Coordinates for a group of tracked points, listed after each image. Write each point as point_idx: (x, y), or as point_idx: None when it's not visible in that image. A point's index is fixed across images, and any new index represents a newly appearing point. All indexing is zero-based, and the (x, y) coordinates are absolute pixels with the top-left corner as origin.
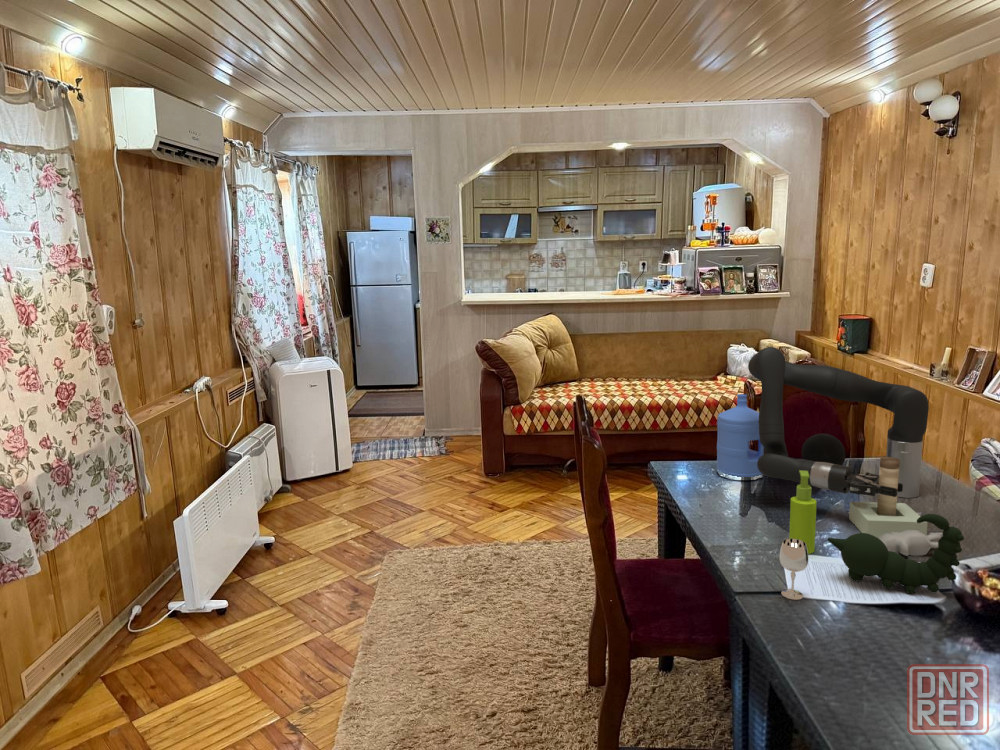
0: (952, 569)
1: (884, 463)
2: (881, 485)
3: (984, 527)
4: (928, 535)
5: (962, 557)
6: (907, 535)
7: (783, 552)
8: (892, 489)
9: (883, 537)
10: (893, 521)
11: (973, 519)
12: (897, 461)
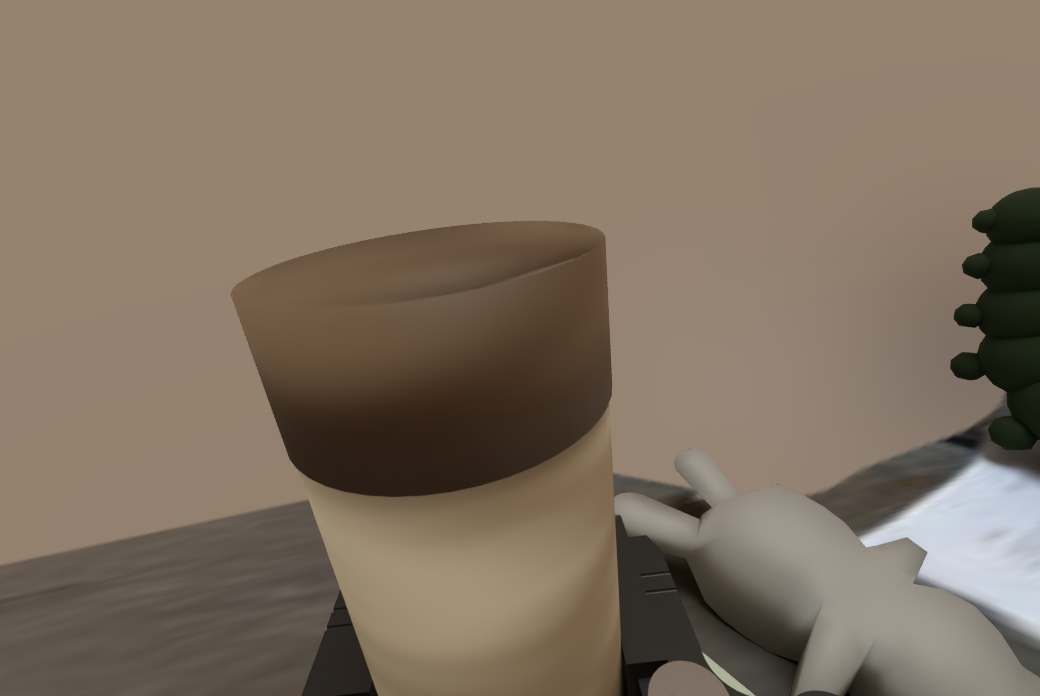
0: (968, 352)
1: (603, 309)
2: (616, 679)
3: (251, 525)
4: (661, 526)
5: (631, 484)
6: (836, 546)
7: None
8: (628, 548)
9: (976, 687)
10: (730, 679)
11: (146, 575)
12: (498, 223)
